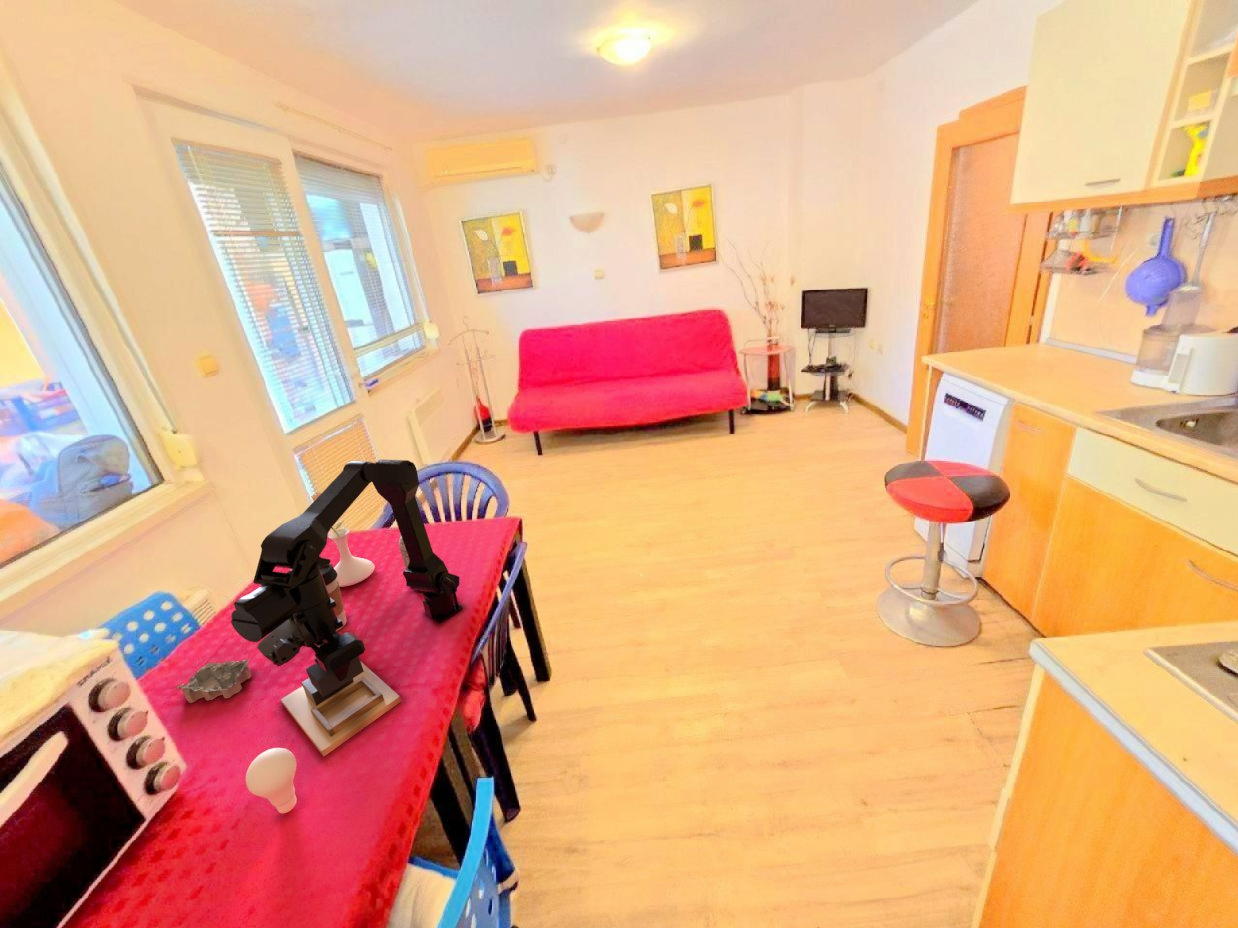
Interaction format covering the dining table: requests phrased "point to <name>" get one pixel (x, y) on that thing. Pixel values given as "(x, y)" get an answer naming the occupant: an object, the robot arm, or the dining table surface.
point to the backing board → (339, 709)
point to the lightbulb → (274, 778)
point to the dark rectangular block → (331, 677)
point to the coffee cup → (334, 591)
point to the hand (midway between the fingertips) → (336, 672)
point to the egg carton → (216, 680)
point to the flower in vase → (348, 558)
